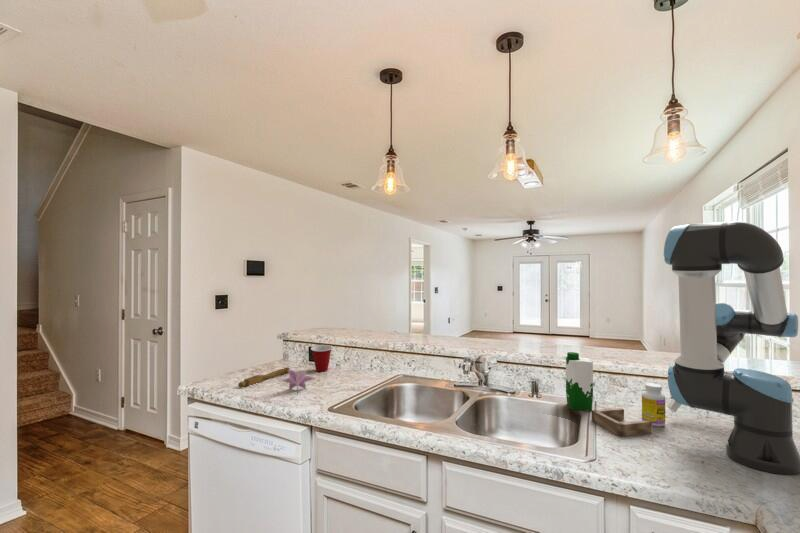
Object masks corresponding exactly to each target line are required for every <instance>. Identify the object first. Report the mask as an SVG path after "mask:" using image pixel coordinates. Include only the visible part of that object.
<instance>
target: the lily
mask: <svg viewBox="0 0 800 533" xmlns="http://www.w3.org/2000/svg"><path fill="white" fill-rule="evenodd" d="M306 371H307V370H306ZM306 371H305V370H304V371H301V372H300V373H298V372H297V371H295V370H293V369H290V370H288V372H289V373H288V376H289V377H288V378H284V379H282V382H283V383H289V384H288V388H289V390H291V389H293V388H296V394H297V395H299V394H298V387H300V388H302V389H304V390H305V389H306V388H307V385H306V382H310V381H312V380H313V381H314V380H316V378H315V377H313V376H310V375H306V373H307V372H306Z"/></svg>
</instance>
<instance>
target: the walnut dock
mask: <svg viewBox="0 0 800 533" xmlns="http://www.w3.org/2000/svg"><path fill="white" fill-rule="evenodd" d="M592 420H593V421H594V423H595V424H597V425H599V426H601V427H602V428H604V429H606V430H607V431H610V432H611V433H613V434H616V435H617V436H619V437H627V436H637V435H645V434H647V435H648V434H653V426H652V422H651V421H649V420H645V421H642V420H636V421H628V422H624V421H623V420H625V409H624V408H622V407H617V408H616V407H615V408H614V407H613V408H603V409H602V408H601V409H592V411H591V421H592ZM593 421H592V422H593ZM620 421H623V422H620Z"/></svg>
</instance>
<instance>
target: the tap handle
mask: <svg viewBox="0 0 800 533" xmlns="http://www.w3.org/2000/svg"><path fill="white" fill-rule="evenodd" d="M288 370H291V368H289V367H288V366H286V367H283V368H279V369H278V370H274V371H272V372H268V373H266V374H261V375H260V374H257V375H254V376H251V377H248V378H244V379H243V381H240V382H239V383H238V388H239V387H243V388H244V387H247V386H249V385H252V386H254V385H253V384H255V385H257V384H256V383H258V384H261V383H263V382H264V381H266V380H268V379H272V378H275V377H279V376H283V375H285V374H289V372H288ZM260 382H261V383H260ZM249 387H250V386H249Z"/></svg>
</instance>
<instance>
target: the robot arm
mask: <svg viewBox="0 0 800 533" xmlns="http://www.w3.org/2000/svg"><path fill="white" fill-rule="evenodd" d="M663 257H664V262H665V264H667V265H669V266H671V271H672V272H673V273H674V274H675V275H677V277H678V279H677V280H678V304H679V305H678V308H679V310H678V312H679V341H680V344H679V345H680V355H679V356H678V357H676V358H675V359H674V363H672V364H670V365H669V366H668V369H667V386H668V390H669V393H670V395H671V396H670V397H671V398H670V400H669V402H668V403H667V405H666V407H667V408H668V409H669V410H670V411H671V412H674V413H677V411H678V409H679V408H680V407H681V406H682V405H683V406H686V407H689V408H692V409H700V410H704V411H709V412H712V413H713V412H714V413H717V414H718V413H719V414H724V415H728V416H732V417H733V428H732V430H731V432H730V435H729V437H728V439H727V441H726V444H725V453H726V455H727V456H728V457H729V458H730V459H732V460H733V461H735V462H737V463H739V464H742V465H744V466H746V467H749V468H752V469H756V470H757V471H758V470H759V471H762V472H766V473H767V472H768V473H771V474H777V475H788V476H789V475H791V476H792V475H798V474H800V454H799V451H798V448H797V445H796V443H795V441H794V438H793V432H794V431H793V428H794V427H793V403H794V398H793V390H792V389H793V388H792V385H791V384H790V383H789V382H788V381H787V380H785V379H784V378H781V377H780V376H777V375H773V374H771V373H767V372H763V371H760V370H756V369H750V368H749V369H747V368H735V369H734V370H733V371H732V372H728V371H727V372H726V371H725V362H726V361H727V359H728V358H729V357H730V355H732V353H733V352H734V350H735V349H736V348H737V346H738V345H739V344H740V343H741V341H742V340H744V337H745V336H746V334H747V335H749V334H750V335H758V336H759V335H760V336H767V337H768V336H769V337H778V338H795V337H797V336H798V333H799V316H798V315H797V314H796V313H791V312H788V309H787V304H786V298H785V293H784V292H785V291H784V284H783V279H782V273H781V272H782V271H781V267H782V266H783V264H784V261H785V260H784V252H783V250H782V247H781V245H780V244H779V242H778V241H777V240H776V239H775V238H774V237H773V236H772V235H771V234H770V233H769V232H767V231H766V230H764V229H763V228H761V227H759V226H757V225H754V224H752V223H749V222H746V221H739V220H738V221H737V220H732V221H722V222H720V221H719V222H709V223H708V222H706V223H705V222H704V223H689V224H681V225H675V226H673V227H672V228H671V229H670V230H669V231H668V232H667V235H666V239H665V241H664V246H663ZM730 264H732V265H733V264H736V265H737V267H738V268H739V269H740V270H741V271H743V274H744V278H745V282H746V287H747V291H748V295H749V298H750V303H751V307H752V310H745V309H744V310H743V309H734V307H732V305H730V304H727V303H725V302H717V300H716V299H717V298H716V276H717V275H718V274H720V272H722V270H723V268H722V266H723V265H730Z"/></svg>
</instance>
